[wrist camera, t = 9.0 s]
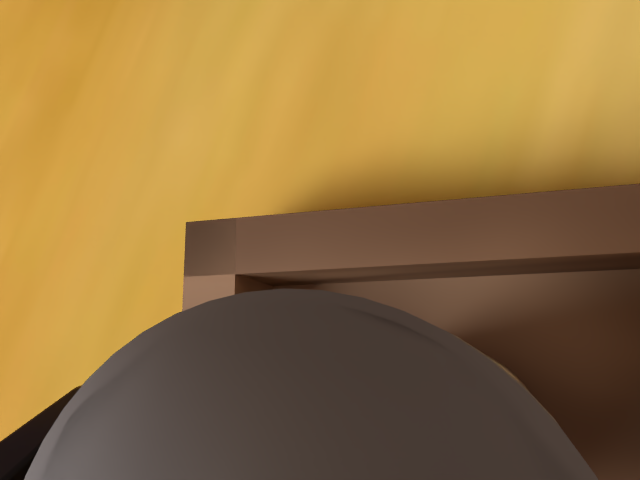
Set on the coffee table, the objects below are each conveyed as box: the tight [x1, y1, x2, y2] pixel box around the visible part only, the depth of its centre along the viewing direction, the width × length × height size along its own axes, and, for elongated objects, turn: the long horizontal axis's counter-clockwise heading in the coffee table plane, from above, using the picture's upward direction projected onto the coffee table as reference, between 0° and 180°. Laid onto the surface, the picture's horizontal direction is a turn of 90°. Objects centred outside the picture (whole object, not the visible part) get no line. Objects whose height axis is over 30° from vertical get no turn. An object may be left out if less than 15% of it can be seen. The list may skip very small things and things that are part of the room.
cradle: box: [182, 184, 640, 480], centre depth 15 cm, size 10×13×3 cm
